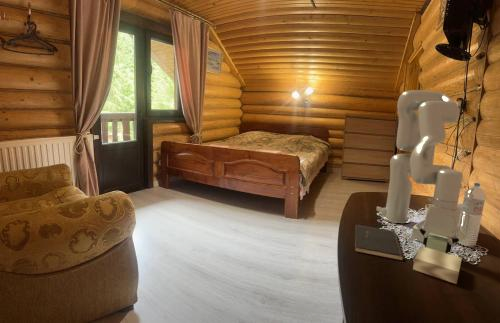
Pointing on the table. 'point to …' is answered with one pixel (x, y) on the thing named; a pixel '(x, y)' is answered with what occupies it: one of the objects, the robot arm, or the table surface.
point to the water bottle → (471, 215)
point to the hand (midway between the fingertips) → (436, 249)
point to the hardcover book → (377, 242)
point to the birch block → (437, 264)
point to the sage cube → (437, 242)
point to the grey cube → (417, 234)
